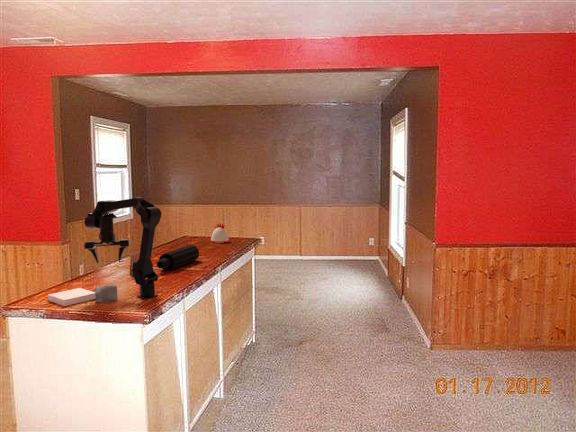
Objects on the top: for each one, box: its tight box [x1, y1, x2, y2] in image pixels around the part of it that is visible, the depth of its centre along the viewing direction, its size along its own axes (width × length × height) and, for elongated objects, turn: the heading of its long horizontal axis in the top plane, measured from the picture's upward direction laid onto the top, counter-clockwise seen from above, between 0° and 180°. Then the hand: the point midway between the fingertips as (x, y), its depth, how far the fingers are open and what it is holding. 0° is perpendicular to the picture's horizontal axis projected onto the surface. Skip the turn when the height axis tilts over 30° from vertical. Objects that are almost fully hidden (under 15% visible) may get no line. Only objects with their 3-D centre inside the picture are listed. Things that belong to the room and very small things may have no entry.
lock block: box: [94, 283, 118, 304], centre depth 191 cm, size 5×7×6 cm
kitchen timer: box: [210, 222, 230, 242], centre depth 350 cm, size 14×14×15 cm
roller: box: [156, 244, 200, 272], centre depth 259 cm, size 38×10×10 cm, turn 165°
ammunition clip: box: [129, 249, 140, 276], centre depth 243 cm, size 11×2×12 cm, turn 169°
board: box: [47, 287, 96, 307], centre depth 192 cm, size 14×14×2 cm
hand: (108, 262), depth 203 cm, fingers open, 9 cm apart
